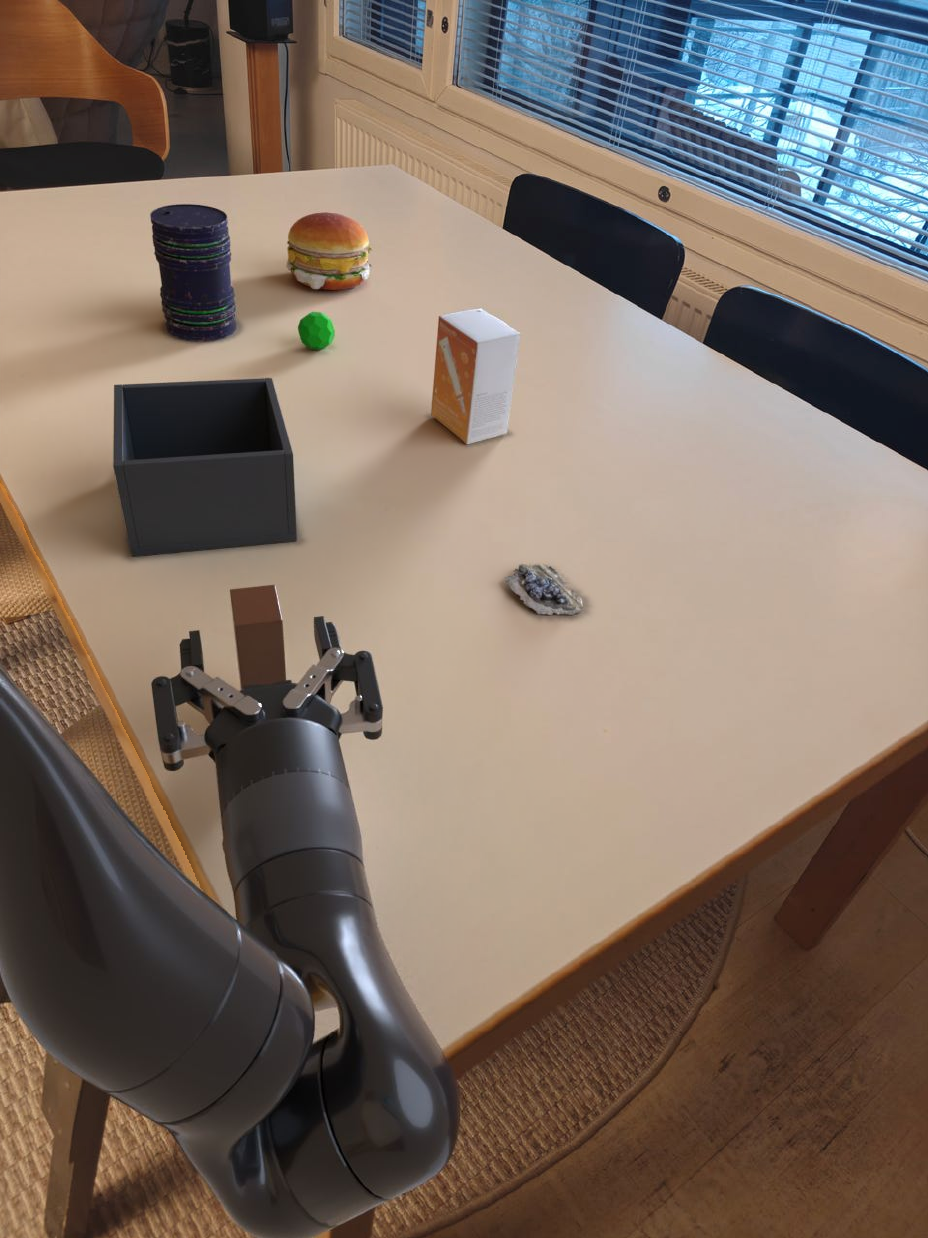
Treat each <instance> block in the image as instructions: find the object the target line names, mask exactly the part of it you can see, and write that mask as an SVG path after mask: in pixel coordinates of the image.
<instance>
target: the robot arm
mask: <svg viewBox="0 0 928 1238" xmlns="http://www.w3.org/2000/svg"><path fill="white" fill-rule="evenodd" d="M313 635H314V636H313V637H314V643H315V646H316V651H317V654H318V659H319V661H318V662H317V663H316V664H312V665H311V666H310V667H309V668H308V670H306V673H305V674H304V675H303V677H302V678H301V679H300V680H299V682H293V680H292V679H286V680H285V681H279V682H276V683H273V684H270V685H248V686H243V690H241V689H240V690H238V689H236V688H235V687H234V686H232V685H231V684H230V683H228V682H226V681H225V680H223V679H222V678H220V677H219V676H216V677H215V678H213V677H212V676H210V675H209V674H208V673H206V671H205V663H204V652H203V645H202V638H201V632H200V629H196V630H189V631H188V636H189V638H182V639H181V641H180V643H179V656H180V657H179V659H180V671H179V673H178V674H176V675H175V676H173V677H168V676H165V675H164V676H163V675H162V676H161V675H160V676H157V677H155V678H154V679H153V680H152V681H151V683H150V686H151V693H152V701H153V710H154V718H155V725H156V732H157V741H158V746H159V750H160V755H161V759H162V764H163V769H165V770H166V771H169V772H177V771H180V769H182V768H183V766H184V765H185V760H188V759H193V758H199V757H204V756H208V757H209V758H210V759H211V760H212V761H213V762H214V764H215V771H216V772H215V773H216V782H217V784H216V785H217V792H218V793H217V794H218V803H219V804H218V805H219V811H220V813H219V814H220V820H221V821H220V823H221V833H222V841H221V846H222V851H223V854H224V860H225V868H226V872H227V876H228V880H229V883H230V886H231V890H232V895H233V900H234V908H235V909H234V910H235V917H234V916H233V915H231V914H230V913H229V912H228V911H227V910H226V909H224V907H222V906H221V905H220V904H219V903H218V902H216V901H215V900H214V899H213V898H212V897H211V896H209V895H208V894H207V893H206V892H205V891H203V889H201V888H200V887H199V886H197V885H196V883H195V882H193V881H192V880H191V879H190V878H189V877H188V876H187V875H186V874H185V873H184V872H182V871H181V869H179V868H178V867H177V866H176V864H174V863H173V861H171V860H170V859H169V858H168V857H167V856H166V855H165V854H164V853H163V852H162V851H161V850H160V849H159V848H158V847H157V845H156V844H154V842H152V840H151V839H150V838H149V837H148V836H147V835H146V834H145V833H144V832H143V831H142V830H141V829H140V828H139V826H138V825H137V824H136V823H135V822H134V821H133V820H132V818H131V817H130V816H129V815H128V814H127V812H126V811H125V810H124V809H123V808H122V806H121V805H119V803H118V802H117V801H116V799H115V798H114V797H113V796H112V795H111V793H110V792H109V791H108V789H106V788H105V786H104V785H103V784H102V783H101V781H100V780H99V779H98V778H97V777H96V775H95V774H94V773H93V772H92V770H91V769H90V768H89V767H88V766H87V764H86V763H85V762H84V761H83V759H81V757H80V756H79V755H78V754H77V752H75V750H74V749H73V748H72V747H71V745H70V744H69V743H68V742H67V740H66V739H65V738H64V737H63V736H62V734H61V733H60V732H59V731H58V730H57V728H55V726H54V725H53V724H52V723H51V721H50V720H49V719H48V718H47V717H46V716H45V715H44V713H42V711H41V709H39V708H38V706H37V705H36V704H35V703H34V702H33V700H31V698H29V697H28V695H27V694H26V693H25V692H24V691H23V690H22V688H21V687H20V686H19V685H18V684H17V683H16V682H15V680H14V679H13V678H12V677H11V676H10V675H9V673H8V672H6V670H5V669H4V668H3V667H2V666H1V665H0V977H1V980H2V984H3V985H4V987H5V990H6V992H7V995H8V998H9V1000H10V1002H11V1003H12V1005H13V1008H14V1009H15V1011H16V1012H17V1015H18V1016H19V1018H20V1020H21V1021H22V1022H23V1024H24V1025H25V1027H26V1028H27V1029H28V1031H29V1032H30V1034H31V1035H32V1036H33V1038H34V1039H35V1040H36V1041H37V1043H38V1044H39V1045H40V1046H41V1047H42V1048H43V1049H44V1050H45V1051H46V1052H47V1053H48V1054H49V1055H50V1056H51V1058H53V1059H54V1060H55V1061H56V1062H58V1063H59V1064H61V1066H62V1067H64V1068H65V1069H66V1070H68V1071H69V1072H70V1073H72V1074H74V1075H75V1076H77V1077H79V1078H81V1079H82V1080H84V1081H85V1082H86V1083H89V1084H90V1085H92V1086H93V1087H95V1088H97V1089H98V1090H100V1091H101V1092H103V1093H105V1094H107V1096H109V1097H111V1098H113V1099H114V1100H116V1101H118V1102H119V1103H121V1104H123V1105H124V1106H127V1107H128V1108H129V1109H131V1110H133V1111H134V1112H136V1113H137V1114H139V1115H141V1116H143V1117H144V1118H145V1119H148V1120H149V1121H151V1122H153V1123H154V1124H156V1125H159V1126H160V1127H162V1128H163V1129H166V1130H167V1132H168V1133H169V1134H170V1136H171V1137H172V1138H173V1139H174V1141H175V1142H176V1144H177V1146H179V1149H181V1151H182V1153H183V1154H184V1155H185V1156H186V1158H187V1159H188V1161H189V1162H190V1164H191V1165H192V1167H194V1170H196V1171H197V1173H198V1174H199V1176H200V1177H202V1179H203V1180H204V1182H205V1183H206V1185H207V1186H208V1187H209V1189H210V1190H211V1192H212V1193H213V1194H214V1196H215V1197H216V1198H217V1200H218V1202H219V1203H220V1205H221V1206H222V1207H223V1209H224V1210H225V1211H226V1213H227V1215H228V1216H229V1217H230V1218H231V1219H232V1221H233V1222H234V1223H235V1224H236V1226H238V1227H239V1228H240V1229H241V1230H243V1231H244V1232H246V1233H248V1234H249V1235H250V1236H253V1237H255V1238H317V1237H319V1236H321V1235H322V1234H324V1233H327V1232H329V1231H331V1230H333V1229H334V1228H337V1227H339V1226H341V1225H343V1224H346V1223H347V1222H348V1221H351V1220H352V1219H355V1218H357V1217H359V1216H361V1215H363V1214H364V1213H366V1212H368V1211H370V1210H373V1209H374V1208H376V1207H378V1206H381V1205H382V1204H384V1203H387V1202H388V1201H391V1200H392V1199H395V1198H398V1197H400V1196H402V1195H404V1194H406V1193H407V1192H410V1191H412V1190H414V1189H416V1188H418V1187H420V1186H421V1185H424V1184H425V1183H427V1182H429V1181H431V1180H432V1179H433V1178H434V1177H436V1176H438V1175H439V1174H440V1173H441V1172H442V1171H443V1170H444V1168H446V1166H447V1164H448V1163H449V1161H450V1160H451V1157H452V1155H453V1153H454V1151H455V1148H456V1145H457V1141H458V1138H459V1132H460V1125H461V1099H460V1091H459V1086H458V1082H457V1080H456V1076H455V1073H454V1071H453V1069H452V1066H451V1064H450V1063H449V1060H448V1059H447V1057H446V1054H445V1053H444V1050H443V1048H442V1047H441V1045H440V1044H439V1042H438V1041H437V1039H436V1037H435V1035H434V1033H433V1032H432V1030H431V1029H430V1027H429V1025H428V1024H427V1023H426V1021H425V1019H424V1017H423V1016H422V1014H421V1013H420V1011H419V1009H418V1008H417V1005H416V1004H415V1002H414V1001H413V999H412V998H411V997H412V996H411V995H410V994H409V992H408V990H407V988H406V986H405V983H404V982H403V980H402V978H401V976H400V974H399V971H398V970H397V968H396V965H395V964H394V962H393V960H392V957H391V956H390V953H389V951H388V948H387V946H386V944H385V942H384V939H383V937H382V933H381V931H380V928H379V925H378V920H377V916H376V911H375V907H374V903H373V898H372V895H371V890H370V886H369V882H368V878H367V873H366V868H365V862H364V852H363V851H364V850H363V839H362V834H361V828H360V824H359V820H358V814H357V811H356V807H355V803H354V798H353V793H352V790H351V786H350V781H349V777H348V772H347V769H346V764H345V760H344V756H343V752H342V751H343V750H342V748H341V742H340V739H341V737H342V735H344V734H352V733H353V734H354V733H362V734H363V736H364V738H366V739H367V740H370V741H375V740H378V739H379V738H381V736H382V734H383V717H384V716H383V715H384V714H383V713H384V706H383V701H382V696H381V691H380V687H379V682H378V678H377V672H376V668H375V664H374V658H373V654H372V653H371V652H370V651H368V650H359V651H357V652H355V654H351V653H347V652H346V651H344V649H343V648H342V646H341V642H340V637H339V633H338V629H337V626H336V625H335V624H334V623H333V621H327V622H326V619H325V616H324V615H319V616H318V615H317V616H313ZM344 681H345V682H351V683H352V682H353V684H354V689H355V697H354V699H353V700H352V701H350V703H349V704H348V706H349V707H348V710H347V711H346V712H345V711H344V712H343V713H341V712H340V710H339V708H337V707H335V706H334V705H332V704H331V702H332V699H333V696H334V695H335V693H337V691H338V689H339V688H340V687H341V685H342V684H343V682H344ZM183 704H187V705H188V706H189V707H192V708H193V709H194V710H196V711H197V712H199V714H200V713H201V715H203V717H204V719H205V720H206V722H207V723H208V724H209V725H207V727H206V729H205V731H204V733H202V734H201V733H200V734H199V733H196V732H194V730H193V728H192V726H191V725H190V724H189V725H188V724H186V722H185V721H183V720H178V713H177V712H178V711H177V707H178V706H181V705H183ZM334 1008H337V1012H338V1020H339V1027H338V1028H336V1029H334V1030H333V1031H331V1032H328V1033H327V1034H324V1035H323V1036H321V1037H319V1038H318V1039H315V1040H314V1038H315V1031H316V1012H320V1011H324V1010H330V1009H334Z"/></svg>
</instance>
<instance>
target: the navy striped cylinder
mask: <svg viewBox="0 0 928 1238" xmlns="http://www.w3.org/2000/svg"><path fill="white" fill-rule="evenodd" d="M149 217H150V224H151V230H152V231H151V232H152V235H151V236H152V237H151V238H152V244H153V245H152V246H153V247H154V257H155V260H156V262H157V263H158V268H159V276H160V283H161V286H160V288H159V292H160V293H159V296H160V299H161V300H160V302H161V311H162V312H163V317H164V320H165V323H164V324H165V331H166V332H167V334H169V335H170V336H172V337H174V338H176V339H179V340H182V341H189V342H197V343H198V342H199V343H201V342H204V343H205V342H206V343H207V342H214V341H219V340H223V339H226V338H229V337H230V336H232V335H234V334H235V332H236V331H237V322H236V321H237V320H236V315H237V314H236V311H237V308H236V300H235V297H236V294H235V289H234V287H233V285H232V278H231V277H232V275H231V266H230V263H231V261H232V252H231V236H230V233H229V227H228V224H229V222H228V214H227V213H226V212H225V211H223V210H221V209H219V208H217V207H213V206H209V205H202V204H194V203H193V204H192V203H181V204H179V203H178V204H170V205H164V206H160V207H157V208H155V209H153V210H152V211H151V212H150V215H149Z"/></svg>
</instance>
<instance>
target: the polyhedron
mask: <svg viewBox="0 0 928 1238" xmlns="http://www.w3.org/2000/svg"><path fill="white" fill-rule="evenodd" d="M297 331H298V335H299V338H300V341H301V343H302V344H303V345H304V346H305V347H307V348H308V349H310V350H313V351H321V350H324V349H326V348H327V347H329V346H330V345H331V344H333V341H334V340H335V335H336V332H335V327H334V323H333V321H332V319H331V318H330V317H328V316H327V315H326V314H325V313H323V312H320V311H311V312H309V313H308V314H307V315H305V316H303V317H302V318H301V319H300V320H299V323H298V326H297Z"/></svg>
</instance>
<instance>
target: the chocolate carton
mask: <svg viewBox="0 0 928 1238" xmlns="http://www.w3.org/2000/svg"><path fill="white" fill-rule="evenodd" d="M229 596H230V606H231V614H232V624H233V631H234V641H235V642H234V643H235V651H236V659H237V668H238V678H239V686H240V691H241V690H243V686H248V685H270V684H273V683H276V682H279V681H285V680H287V670H286V669H287V668H286V654H285V638H284V637H285V636H284V620H283V615H282V609H281V606H280V602H279V596H278V591H277V586H276V585H275V584H268V585H258V586H249V587H240V588H239V587H238V588H232V589H229Z"/></svg>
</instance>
